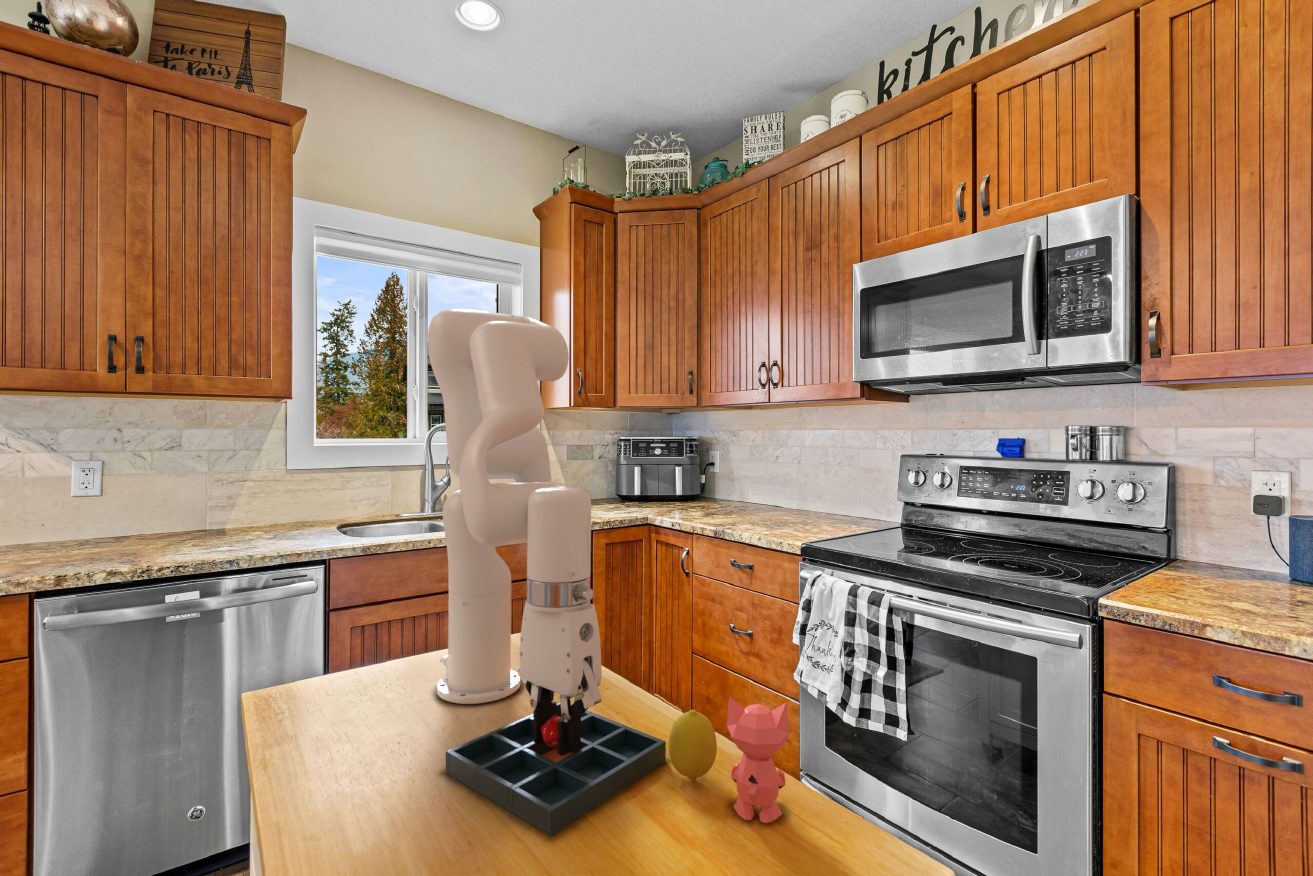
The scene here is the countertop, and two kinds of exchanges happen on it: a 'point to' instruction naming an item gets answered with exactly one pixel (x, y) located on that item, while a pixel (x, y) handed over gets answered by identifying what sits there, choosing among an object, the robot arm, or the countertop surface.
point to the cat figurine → (757, 757)
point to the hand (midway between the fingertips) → (556, 743)
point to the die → (551, 731)
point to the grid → (555, 769)
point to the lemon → (692, 744)
